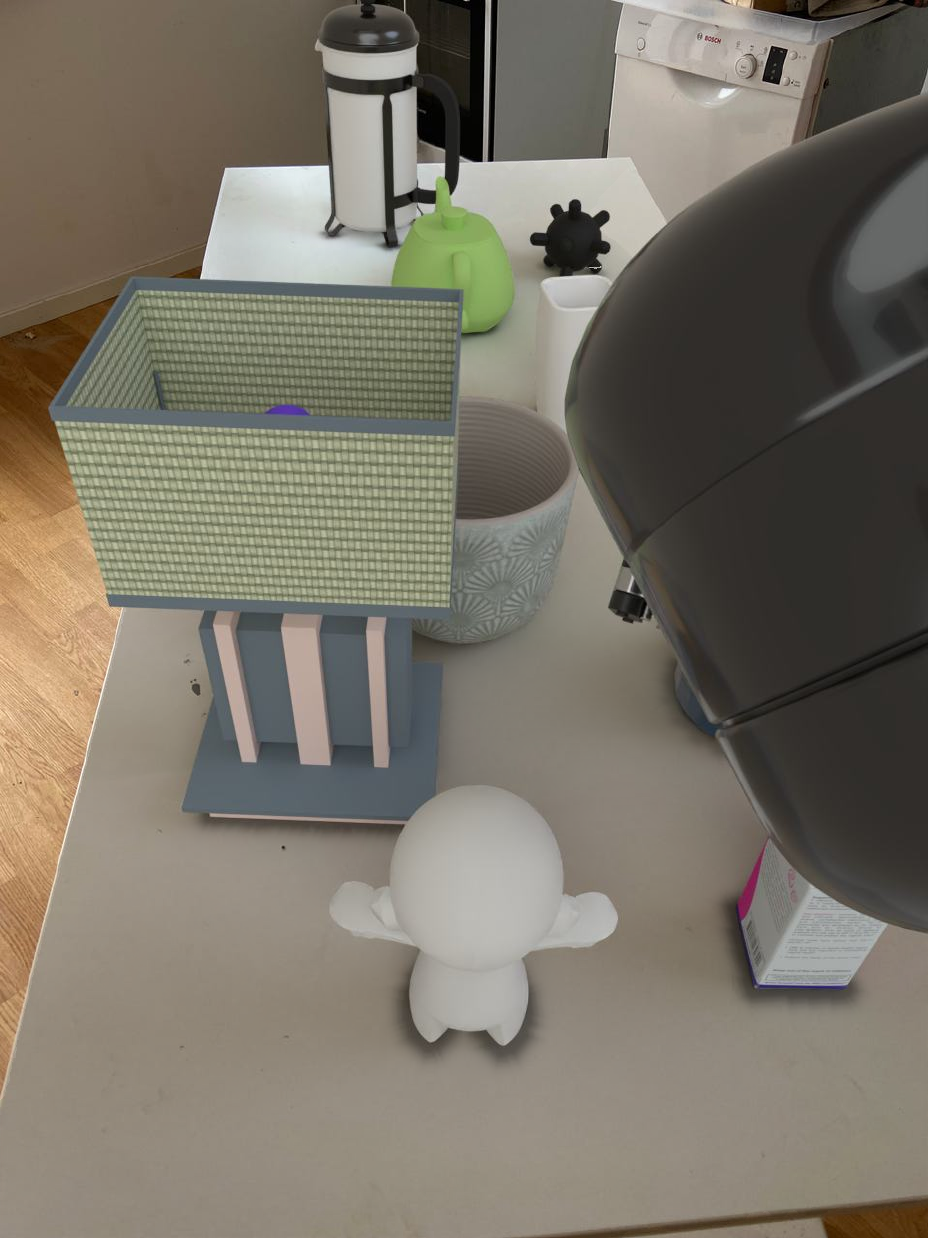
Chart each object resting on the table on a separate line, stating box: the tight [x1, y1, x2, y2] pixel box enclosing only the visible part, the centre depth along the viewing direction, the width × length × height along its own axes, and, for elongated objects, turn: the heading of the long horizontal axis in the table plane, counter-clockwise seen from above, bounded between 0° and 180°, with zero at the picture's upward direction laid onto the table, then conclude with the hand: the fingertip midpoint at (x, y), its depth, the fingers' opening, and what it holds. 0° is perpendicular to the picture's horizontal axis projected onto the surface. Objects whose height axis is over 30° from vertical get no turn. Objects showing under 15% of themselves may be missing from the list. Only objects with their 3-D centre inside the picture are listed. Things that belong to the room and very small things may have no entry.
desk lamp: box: [47, 276, 464, 825], centre depth 60 cm, size 18×14×33 cm
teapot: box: [390, 176, 515, 334], centre depth 117 cm, size 22×15×13 cm
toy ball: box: [529, 198, 611, 277], centre depth 128 cm, size 11×11×12 cm
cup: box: [534, 274, 613, 435], centre depth 99 cm, size 7×7×15 cm
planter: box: [412, 395, 580, 645], centre depth 78 cm, size 17×17×15 cm
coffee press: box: [314, 0, 461, 248], centre depth 130 cm, size 17×16×30 cm
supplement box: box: [735, 836, 889, 990], centre depth 57 cm, size 6×6×12 cm
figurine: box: [328, 784, 619, 1047], centre depth 50 cm, size 16×8×20 cm, turn 88°
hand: (783, 643), depth 45 cm, fingers open, 8 cm apart
